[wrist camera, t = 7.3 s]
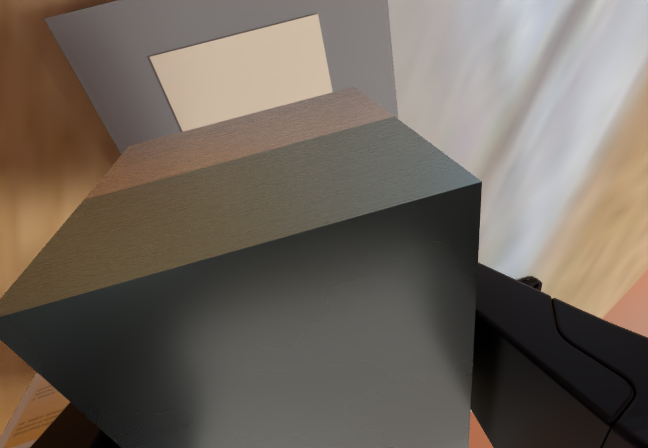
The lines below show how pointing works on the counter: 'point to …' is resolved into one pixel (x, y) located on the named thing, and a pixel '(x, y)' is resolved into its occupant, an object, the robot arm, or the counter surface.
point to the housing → (265, 287)
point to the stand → (221, 59)
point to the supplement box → (33, 414)
